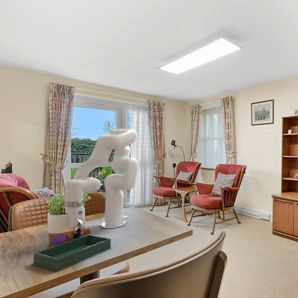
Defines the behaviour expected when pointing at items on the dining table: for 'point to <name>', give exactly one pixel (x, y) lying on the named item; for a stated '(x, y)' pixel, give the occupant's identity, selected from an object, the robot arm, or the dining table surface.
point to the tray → (71, 252)
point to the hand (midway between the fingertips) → (72, 239)
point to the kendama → (65, 238)
